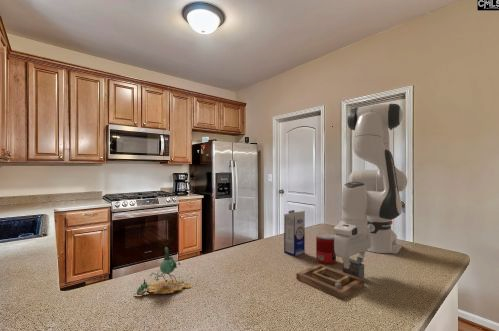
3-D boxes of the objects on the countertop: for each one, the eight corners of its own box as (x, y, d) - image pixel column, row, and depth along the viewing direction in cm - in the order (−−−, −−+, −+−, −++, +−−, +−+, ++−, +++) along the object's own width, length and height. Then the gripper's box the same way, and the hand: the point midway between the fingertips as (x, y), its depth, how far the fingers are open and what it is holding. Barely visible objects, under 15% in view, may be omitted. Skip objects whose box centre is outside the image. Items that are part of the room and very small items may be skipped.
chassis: (319, 268, 97) (319, 261, 97) (363, 285, 83) (363, 276, 83) (296, 278, 88) (296, 270, 88) (341, 299, 75) (341, 289, 75)
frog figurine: (136, 286, 83) (142, 242, 84) (191, 286, 87) (196, 243, 88) (130, 300, 74) (137, 250, 74) (192, 299, 78) (197, 252, 79)
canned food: (337, 265, 101) (337, 238, 101) (316, 263, 102) (316, 237, 102) (334, 258, 108) (334, 233, 108) (315, 257, 110) (315, 232, 110)
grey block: (348, 272, 94) (348, 257, 94) (364, 278, 89) (364, 262, 89) (343, 275, 92) (343, 259, 92) (358, 281, 87) (358, 264, 87)
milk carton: (294, 256, 110) (294, 212, 110) (283, 252, 115) (283, 210, 116) (304, 253, 115) (305, 210, 115) (293, 249, 120) (293, 208, 120)
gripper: (359, 221, 99) (359, 256, 99) (331, 228, 86) (330, 268, 86) (375, 224, 94) (375, 261, 94) (348, 232, 81) (347, 274, 81)
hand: (354, 264), depth 90 cm, fingers open, 8 cm apart
